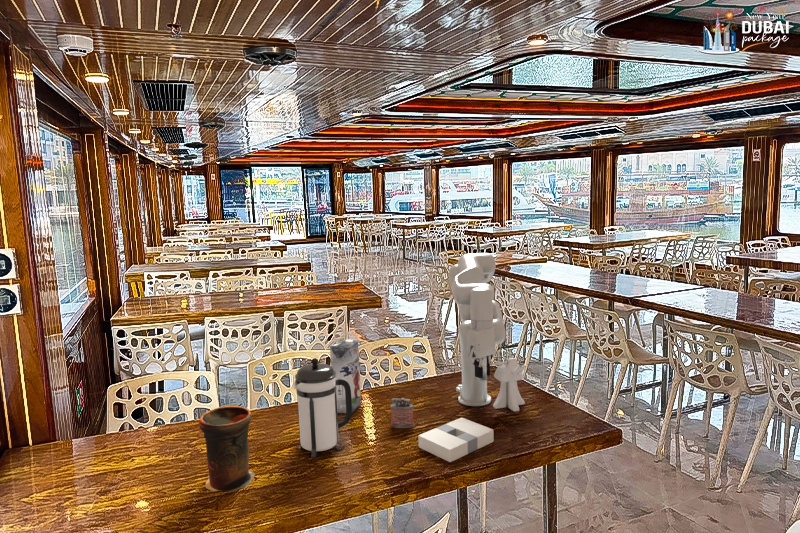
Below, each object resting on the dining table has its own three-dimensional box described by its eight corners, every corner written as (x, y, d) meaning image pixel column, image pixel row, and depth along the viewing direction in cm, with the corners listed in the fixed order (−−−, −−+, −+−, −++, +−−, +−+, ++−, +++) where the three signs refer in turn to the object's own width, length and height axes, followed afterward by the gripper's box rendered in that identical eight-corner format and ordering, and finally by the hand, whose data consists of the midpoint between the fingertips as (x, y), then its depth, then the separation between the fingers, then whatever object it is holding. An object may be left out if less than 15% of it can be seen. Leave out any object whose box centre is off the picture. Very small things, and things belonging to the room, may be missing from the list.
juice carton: (330, 413, 211) (327, 343, 208) (341, 403, 221) (338, 335, 217) (353, 415, 209) (349, 344, 205) (363, 405, 219) (360, 336, 215)
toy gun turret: (484, 402, 217) (483, 356, 215) (515, 397, 221) (515, 352, 219) (498, 414, 206) (498, 366, 204) (531, 408, 210) (531, 361, 207)
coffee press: (338, 461, 175) (333, 366, 170) (288, 457, 178) (283, 364, 174) (353, 436, 191) (349, 350, 187) (308, 434, 195) (303, 348, 190)
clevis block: (450, 462, 171) (449, 449, 171) (418, 447, 182) (418, 435, 181) (493, 441, 184) (493, 429, 184) (461, 428, 195) (461, 417, 194)
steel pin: (473, 379, 196) (473, 350, 195) (481, 376, 199) (481, 348, 198) (483, 382, 193) (482, 353, 192) (491, 379, 196) (491, 350, 195)
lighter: (414, 424, 200) (413, 396, 198) (413, 428, 197) (412, 400, 195) (391, 423, 201) (390, 396, 199) (390, 427, 197) (389, 400, 196)
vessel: (236, 462, 176) (232, 400, 173) (265, 477, 167) (261, 412, 164) (193, 482, 165) (188, 416, 162) (222, 499, 156) (217, 430, 153)
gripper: (488, 318, 202) (489, 368, 204) (457, 326, 191) (458, 379, 194) (505, 321, 196) (506, 373, 199) (474, 330, 185) (474, 384, 188)
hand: (482, 375), depth 196 cm, fingers closed on steel pin, 3 cm apart
